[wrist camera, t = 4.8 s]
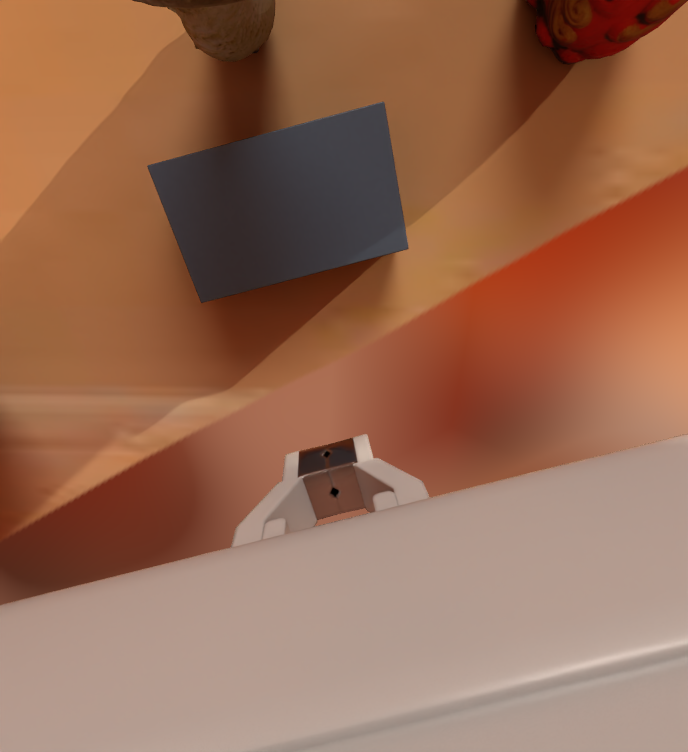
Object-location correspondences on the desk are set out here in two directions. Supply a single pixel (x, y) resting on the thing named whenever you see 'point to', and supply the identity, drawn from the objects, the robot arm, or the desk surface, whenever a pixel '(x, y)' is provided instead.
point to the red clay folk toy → (597, 25)
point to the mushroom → (224, 24)
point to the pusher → (285, 203)
